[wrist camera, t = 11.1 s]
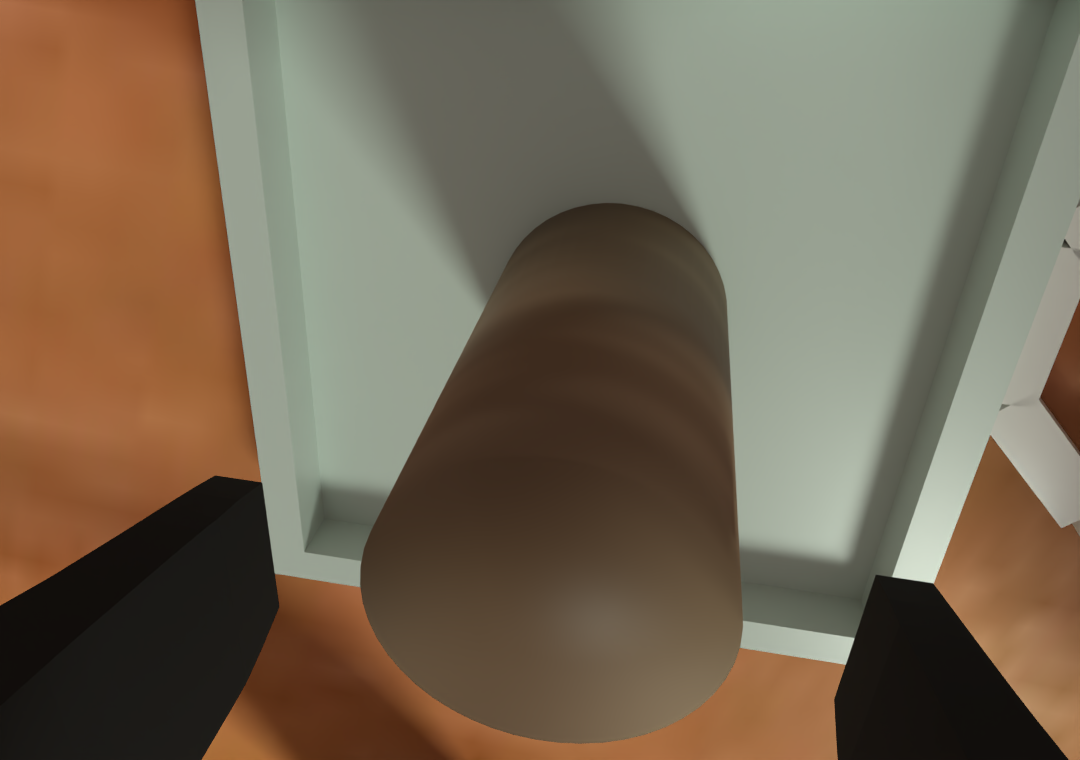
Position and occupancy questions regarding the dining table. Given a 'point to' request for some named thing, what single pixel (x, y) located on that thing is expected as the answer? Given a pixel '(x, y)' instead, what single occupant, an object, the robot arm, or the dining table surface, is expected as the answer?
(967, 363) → the tray
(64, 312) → the dining table surface
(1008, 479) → the dining table surface
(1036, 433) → the holder ring
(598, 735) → the walnut canister
